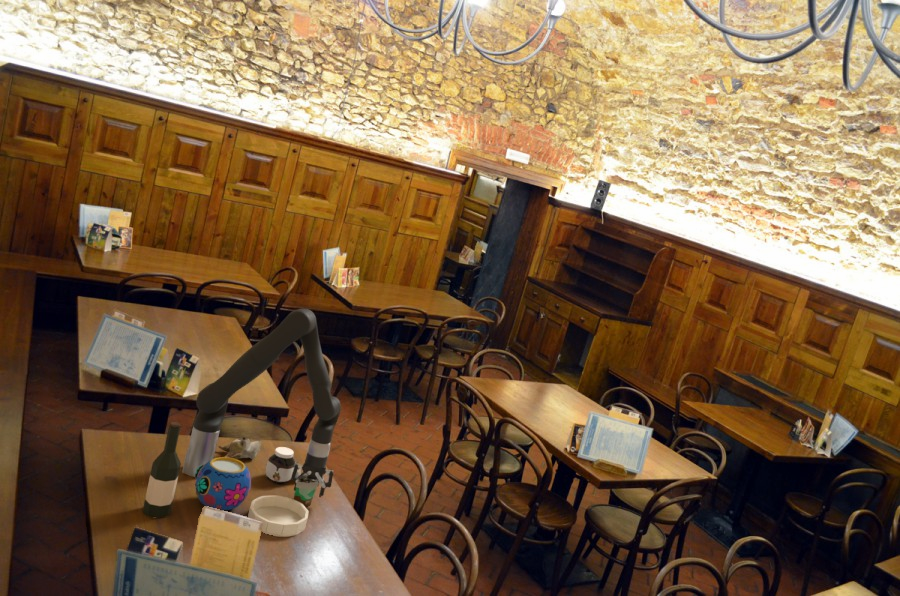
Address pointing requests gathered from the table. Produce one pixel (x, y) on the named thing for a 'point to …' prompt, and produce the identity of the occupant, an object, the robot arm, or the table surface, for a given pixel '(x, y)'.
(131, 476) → the table surface
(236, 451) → the ceramic sculpture
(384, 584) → the table surface
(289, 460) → the spread jar
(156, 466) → the wine bottle
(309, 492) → the food container
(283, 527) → the bowl
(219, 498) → the ceramic pot
